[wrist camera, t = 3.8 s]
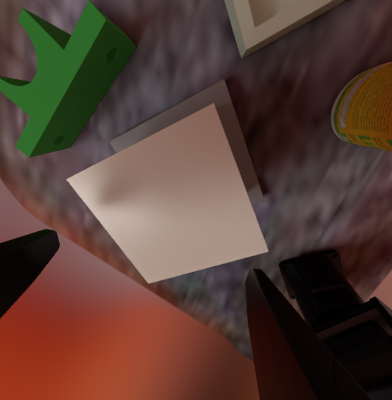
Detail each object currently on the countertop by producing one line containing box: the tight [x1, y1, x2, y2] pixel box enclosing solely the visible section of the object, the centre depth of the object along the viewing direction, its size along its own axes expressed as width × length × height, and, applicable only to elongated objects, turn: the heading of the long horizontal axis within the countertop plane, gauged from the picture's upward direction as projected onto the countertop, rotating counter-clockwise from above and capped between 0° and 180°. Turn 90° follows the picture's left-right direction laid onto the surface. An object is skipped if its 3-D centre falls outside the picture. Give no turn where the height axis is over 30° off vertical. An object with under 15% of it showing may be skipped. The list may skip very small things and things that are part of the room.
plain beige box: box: [67, 79, 268, 284], centre depth 13 cm, size 11×11×9 cm
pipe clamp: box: [0, 1, 137, 157], centre depth 13 cm, size 11×4×5 cm, turn 134°
